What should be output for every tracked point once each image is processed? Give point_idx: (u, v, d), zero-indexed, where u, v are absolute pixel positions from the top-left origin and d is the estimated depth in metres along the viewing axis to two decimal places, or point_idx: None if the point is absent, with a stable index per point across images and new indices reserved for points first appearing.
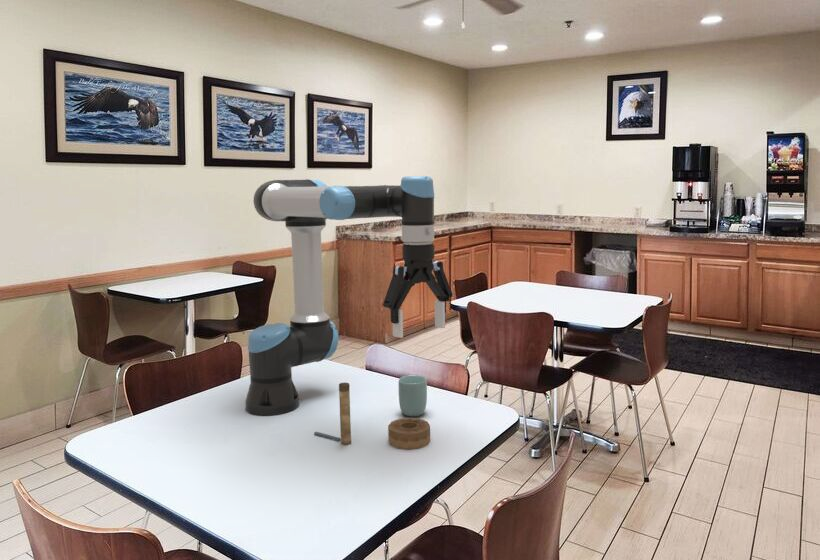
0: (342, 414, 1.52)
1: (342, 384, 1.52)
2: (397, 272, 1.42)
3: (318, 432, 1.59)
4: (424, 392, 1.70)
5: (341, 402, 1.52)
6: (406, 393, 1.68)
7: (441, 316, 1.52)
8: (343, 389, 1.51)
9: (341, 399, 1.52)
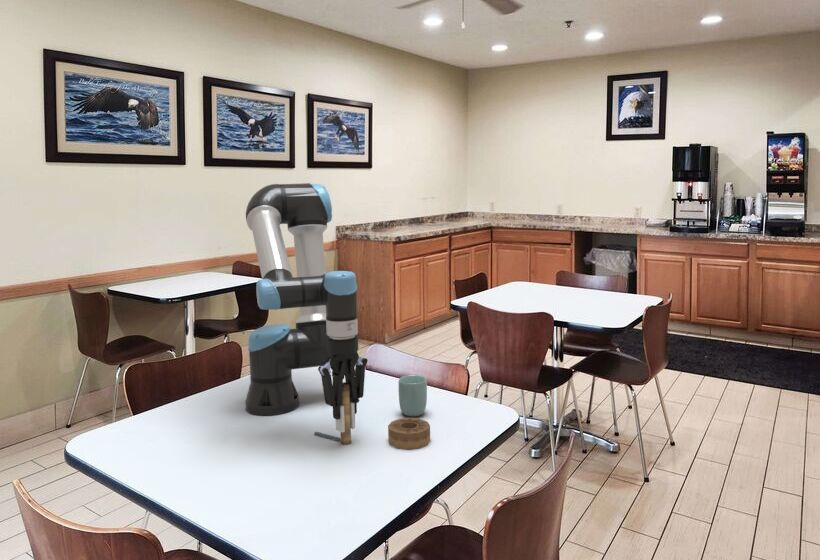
0: None
1: None
2: (324, 374, 1.47)
3: (318, 432, 1.59)
4: (424, 392, 1.70)
5: (341, 401, 1.52)
6: (406, 393, 1.68)
7: (351, 417, 1.54)
8: (343, 389, 1.51)
9: (341, 399, 1.52)
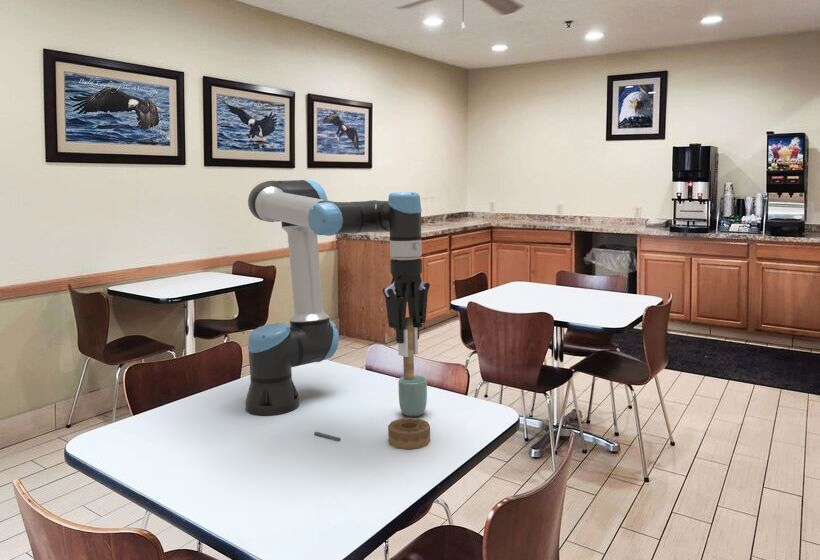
0: None
1: (406, 318, 1.50)
2: (388, 295, 1.45)
3: (318, 432, 1.59)
4: (424, 392, 1.70)
5: None
6: (406, 393, 1.68)
7: (414, 342, 1.51)
8: (407, 323, 1.49)
9: None
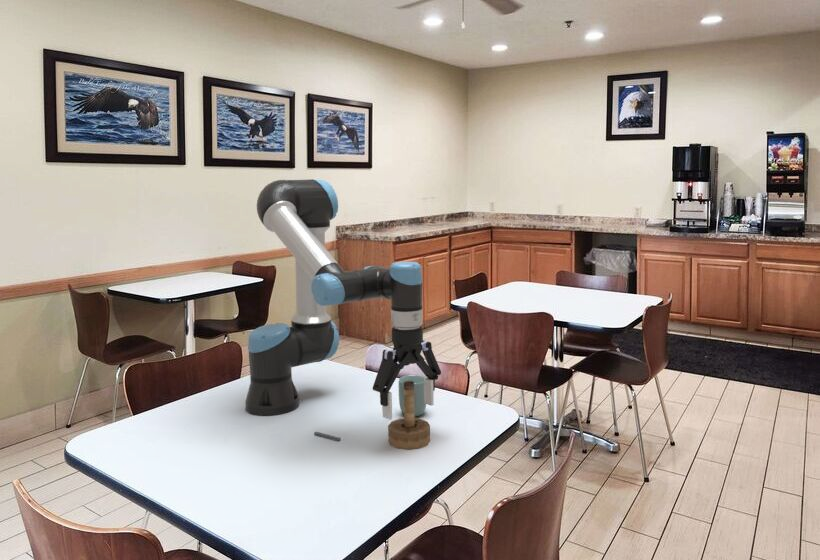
0: (407, 412, 1.52)
1: (407, 382, 1.52)
2: (387, 357, 1.47)
3: (318, 432, 1.59)
4: None
5: (406, 400, 1.52)
6: None
7: (430, 394, 1.57)
8: (408, 387, 1.51)
9: (406, 397, 1.52)
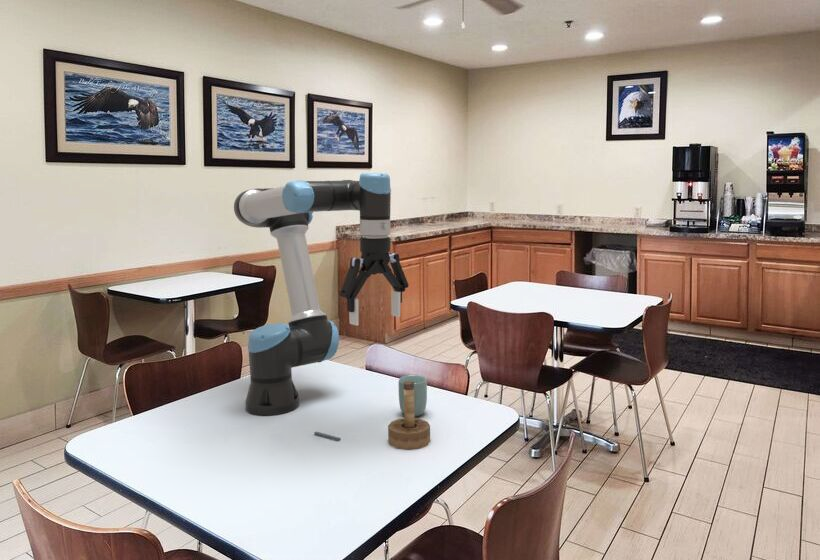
0: (407, 412, 1.52)
1: (407, 382, 1.52)
2: (354, 264, 1.51)
3: (318, 432, 1.59)
4: (424, 392, 1.70)
5: (406, 400, 1.52)
6: None
7: (397, 305, 1.61)
8: (408, 387, 1.51)
9: (406, 397, 1.52)
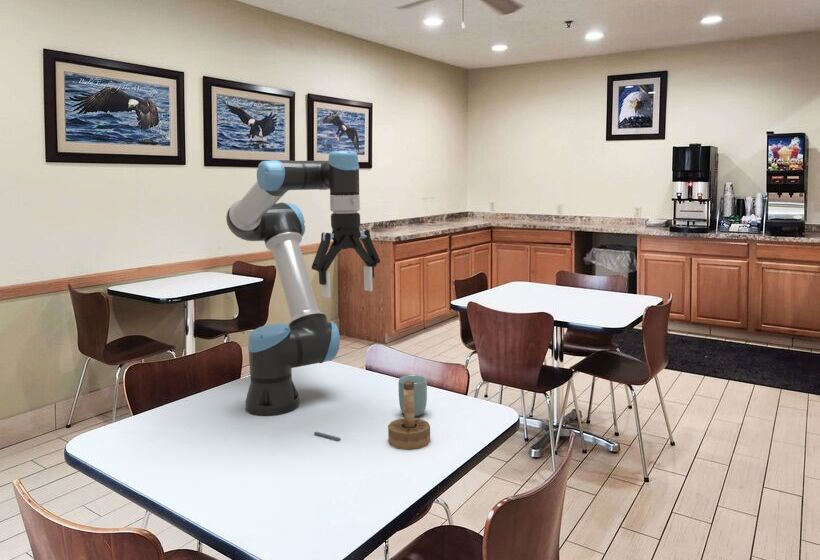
0: (407, 412, 1.52)
1: (407, 382, 1.52)
2: (325, 238, 1.57)
3: (318, 432, 1.59)
4: (424, 392, 1.70)
5: (406, 400, 1.52)
6: None
7: (369, 280, 1.67)
8: (408, 387, 1.51)
9: (406, 397, 1.52)
